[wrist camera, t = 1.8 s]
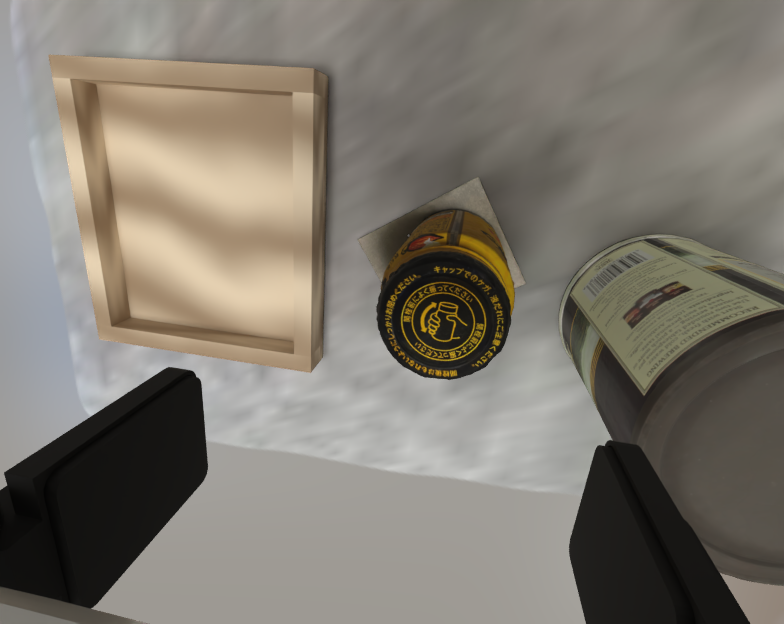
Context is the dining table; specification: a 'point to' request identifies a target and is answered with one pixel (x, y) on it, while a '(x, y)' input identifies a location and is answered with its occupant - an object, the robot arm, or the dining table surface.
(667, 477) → the coffee can
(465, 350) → the condiment
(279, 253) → the tray
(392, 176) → the dining table surface
